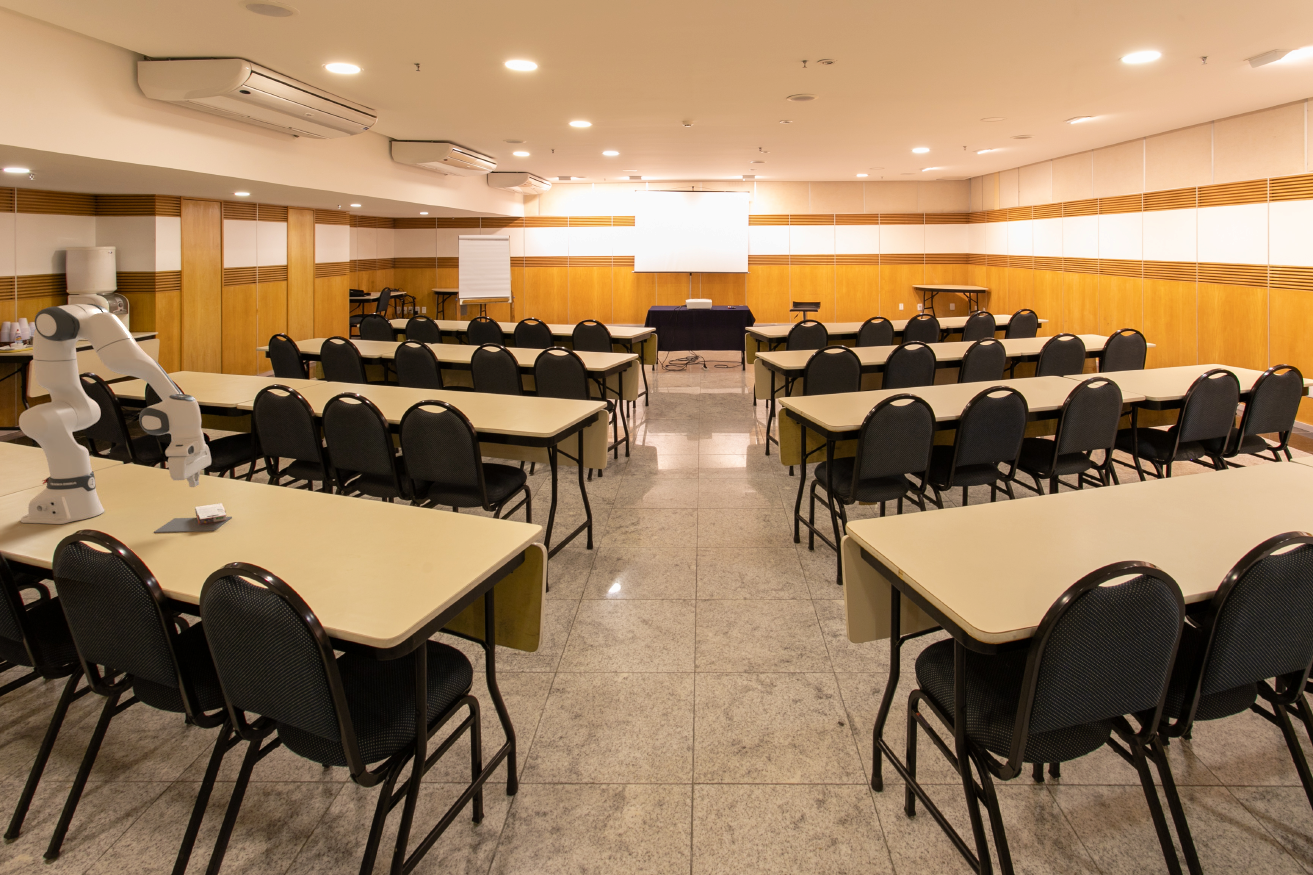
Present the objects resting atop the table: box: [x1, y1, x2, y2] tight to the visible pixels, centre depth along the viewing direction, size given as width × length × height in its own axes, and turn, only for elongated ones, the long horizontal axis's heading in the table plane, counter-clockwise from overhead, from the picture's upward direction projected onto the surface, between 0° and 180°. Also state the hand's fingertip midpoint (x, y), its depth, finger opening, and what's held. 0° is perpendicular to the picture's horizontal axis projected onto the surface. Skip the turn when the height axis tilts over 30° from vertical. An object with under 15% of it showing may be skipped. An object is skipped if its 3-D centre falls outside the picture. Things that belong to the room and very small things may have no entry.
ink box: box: [194, 502, 227, 524], centre depth 250 cm, size 4×8×15 cm
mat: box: [153, 516, 233, 534], centre depth 247 cm, size 18×13×1 cm
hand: (194, 486), depth 248 cm, fingers closed
